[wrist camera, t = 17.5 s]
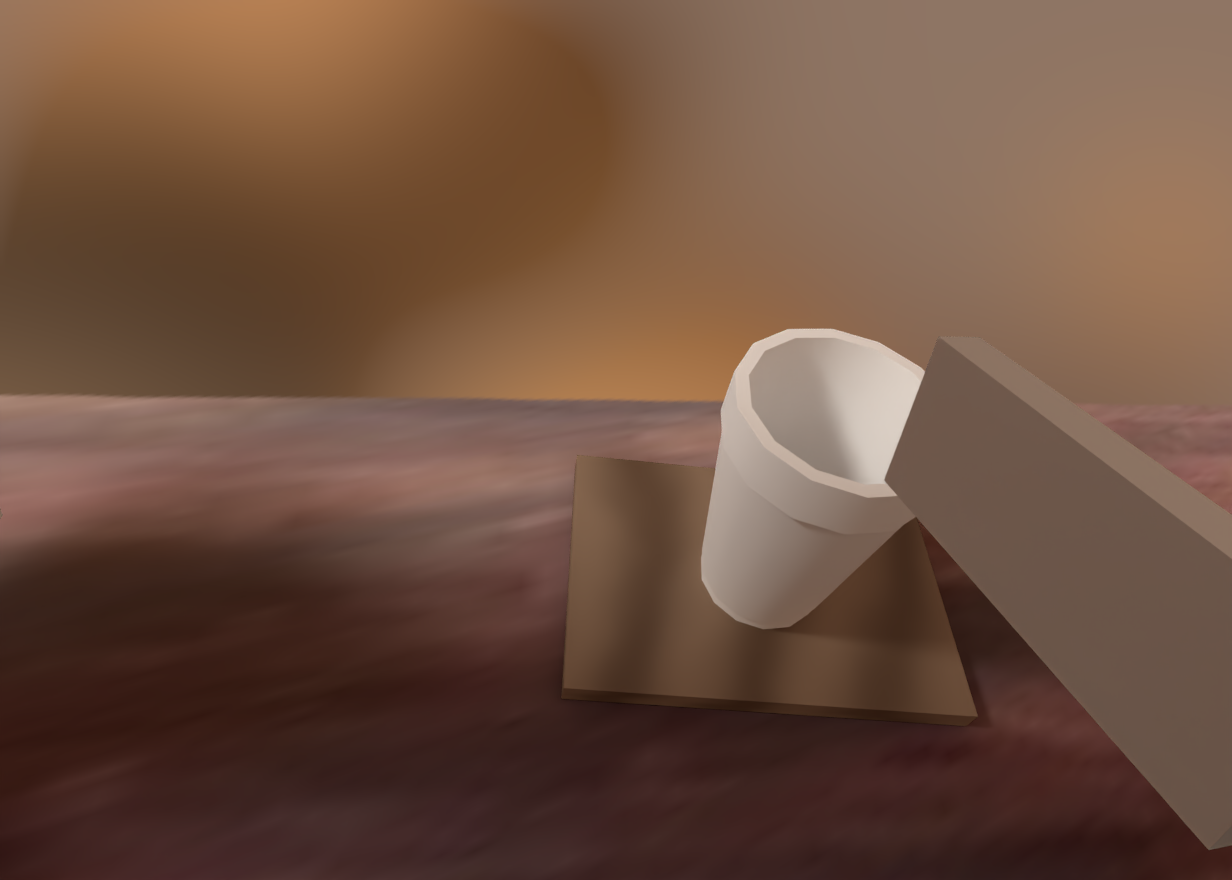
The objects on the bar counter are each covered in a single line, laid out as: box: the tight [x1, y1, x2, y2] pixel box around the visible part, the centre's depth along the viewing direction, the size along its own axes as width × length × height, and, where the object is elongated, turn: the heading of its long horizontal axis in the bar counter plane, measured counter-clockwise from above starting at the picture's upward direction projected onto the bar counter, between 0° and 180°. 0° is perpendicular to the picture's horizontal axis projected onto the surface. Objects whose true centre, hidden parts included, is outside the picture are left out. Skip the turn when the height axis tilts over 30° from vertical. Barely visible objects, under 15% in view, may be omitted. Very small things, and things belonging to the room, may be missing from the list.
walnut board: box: [561, 455, 978, 726], centre depth 41 cm, size 20×14×1 cm
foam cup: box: [701, 329, 925, 629], centre depth 36 cm, size 10×9×13 cm
